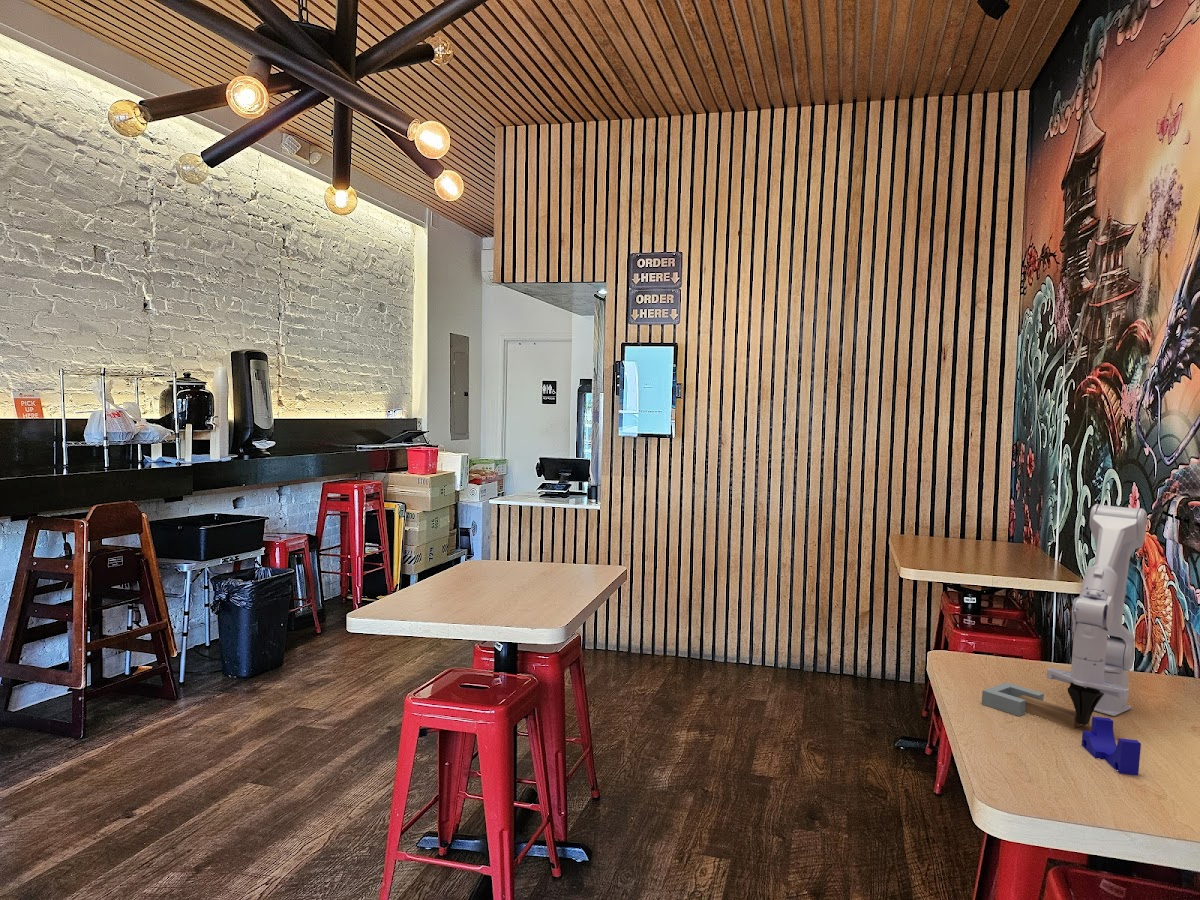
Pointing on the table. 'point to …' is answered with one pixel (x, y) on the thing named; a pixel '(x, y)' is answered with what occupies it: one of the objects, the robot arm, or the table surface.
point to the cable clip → (1112, 747)
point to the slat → (1050, 711)
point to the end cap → (1009, 698)
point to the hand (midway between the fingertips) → (1083, 723)
